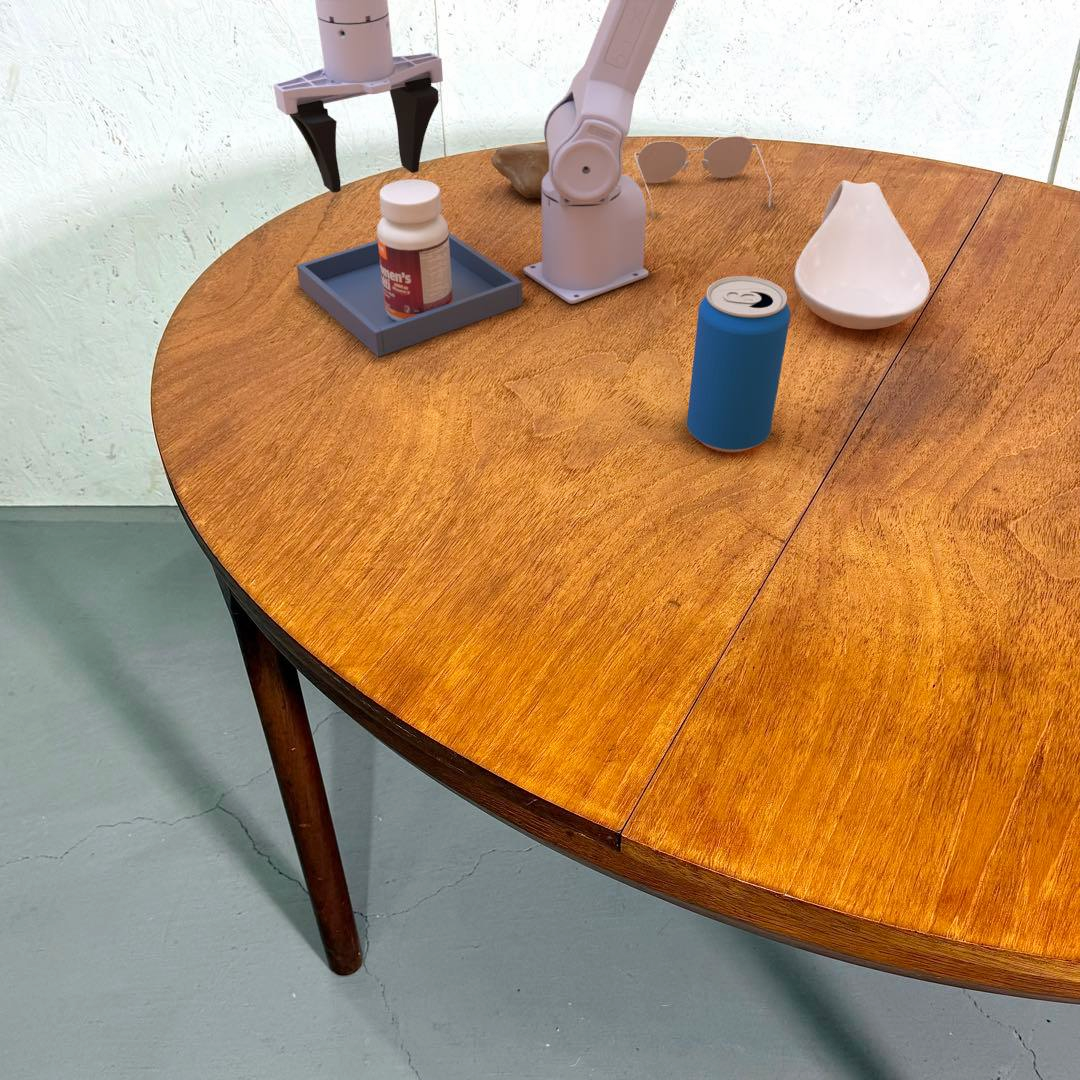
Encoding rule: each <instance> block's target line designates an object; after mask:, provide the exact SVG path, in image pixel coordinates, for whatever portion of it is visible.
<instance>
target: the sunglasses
mask: <svg viewBox="0 0 1080 1080" xmlns="http://www.w3.org/2000/svg"><path fill="white" fill-rule="evenodd" d="M753 148H755V149H756V151H757V153H758V156H759V159H760V161H761V163H762V166H763V168H764V171H765V173H766V177H767V180H768V183H769V197H768V208H771V204H772V203H771V202H772V187H773V186H772V182H771V179H770V176H769V174H768V172H767V168H766V166H765V162H764V160H763V157H762V155H761V151H760V148H759V147H758V145H757V144H756V143H752V142H751V140H750V139H749V138H747V137H746V136H742V135H730V136H723V137H720V138H717V139H715V140H713V141H712V142H711V143H709V144H708V145H707V147H706V148H690V149H688V150H687V148H686V147H685V146H684V145H683V144H681V142H677V141H673V140H659V141H658V140H657V141H652V142H650V143H647V144H646V145H644V146H643V147H642V148H641V150H639V151H638V152H634V155H633V158H634V160H635V163H636V166H637V168H638V172H639V174H640V177H641V178H642V181H643V183H644V187H645V189H646V191H647V194H648V197H649V200H650V201H649V202H650V205H651V211H652V216H653V217H655V215H654V207H653V202H652V197H651V193H650V191H649V187H648V185H647V184H646V182H647V183H653V184H660V183H664V182H667V181H669V180H671V179H672V178H674V177H675V176H676V175H677V174H678V173H679V172H682V173H684V171H685V170H686V169H687V168H688V166H689V164H690V160H688V159H687V158H688V153H690V152H693V151H703V159H702V160H701V164H702V167H703V169H704V170H705V171H708V172H709V173H710V174H711V176H714V177H716V178H720V179H727V178H732V177H735V176H737V175H738V174H740V173H741V172H742V171H744V169H745V167H746V166H748V165H747V164H748V162H749V160H750V158H751V155H752V152H753Z"/></svg>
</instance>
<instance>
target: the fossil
mask: <svg viewBox="0 0 1080 1080" xmlns="http://www.w3.org/2000/svg"><path fill="white" fill-rule="evenodd" d="M490 161H491V164H492V166H493V167H494V168H495V169H496V171H497V172H499V174H500V175H501V176H502V177H505V178H506V179H508V180H509V181H510V184H511V185H512V187H513V188H514V189H515V190H516V192H517V193H519V194H520V195H522V196H523V197H525V198H526V199H541V200H542V180H543V178H544V177H545V175H546V174H547V173H548V171H549V162H550V161H549V153H548V147H547V145H546V144H540V143H520V144H513V145H507V146H500V147H498V148H497V149H496V150H495V152H494V154H492V155H491V157H490Z"/></svg>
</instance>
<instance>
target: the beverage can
mask: <svg viewBox="0 0 1080 1080" xmlns="http://www.w3.org/2000/svg"><path fill="white" fill-rule="evenodd" d="M787 301H788V295H787V293H786V291H785V290H784V289H783V288H782V287H781V286H779V285H778V284H777V283H775V282H772V281H770V280H768V279H765V278H760V277H755V276H748V275H736V276H727V277H723V278H720V279H718V280H716V281H713V282H712V283H711V284H710V285H709V286H708V288H707V289H706V295H705V296H704V297H703V298H702V300H701V301H700V303H699V306H698V313H697V320H696V321H697V323H696V331H695V342H694V350H693V352H694V353H693V358H692V359H693V360H692V369H691V380H690V388H689V398H688V406H687V408H688V409H687V416H686V426H687V429H688V431H689V433H690V435H692V437H694V439H696V440H697V441H699V442H700V443H702V444H703V445H704V446H706V447H708V448H710V449H712V450H714V451H718V452H723V453H740V452H744V451H747V450H750V449H753V448H755V447H757V446H760V445H761V444H763V443H765V442H766V441H767V440H768V438H769V437H770V435H771V433H772V432H771V431H772V427H773V420H774V415H775V408H776V402H777V396H778V390H779V385H780V379H781V374H782V367H783V361H784V356H785V350H786V345H787V344H786V343H787V338H788V333H789V327H790V321H791V310H790V308H789V305H788V304H787Z"/></svg>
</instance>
